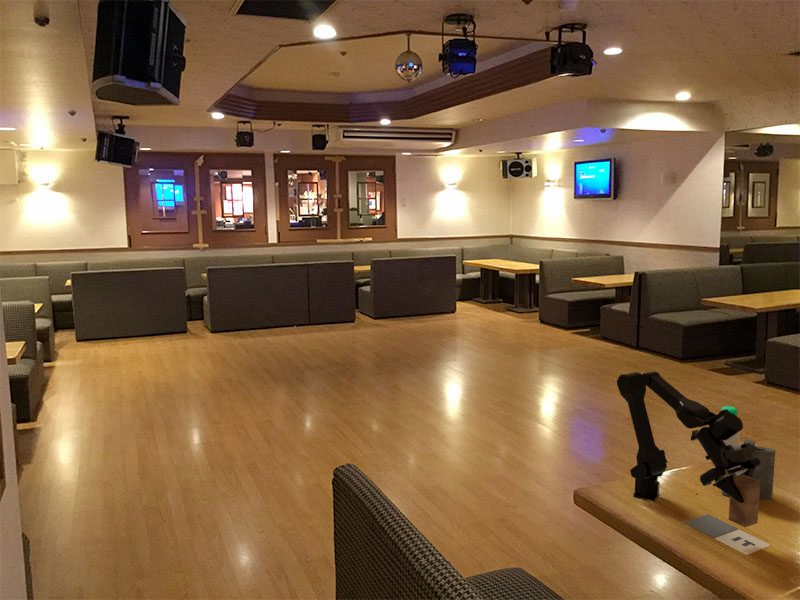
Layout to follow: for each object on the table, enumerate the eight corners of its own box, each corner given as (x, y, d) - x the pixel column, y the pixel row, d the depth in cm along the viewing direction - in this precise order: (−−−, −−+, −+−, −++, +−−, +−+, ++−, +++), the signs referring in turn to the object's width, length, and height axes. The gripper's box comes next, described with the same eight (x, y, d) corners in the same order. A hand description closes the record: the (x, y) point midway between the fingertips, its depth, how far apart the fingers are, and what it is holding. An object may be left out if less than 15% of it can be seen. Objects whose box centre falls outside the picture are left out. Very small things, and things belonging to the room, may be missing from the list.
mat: (683, 524, 192) (683, 522, 192) (707, 515, 196) (707, 513, 196) (714, 539, 183) (714, 537, 183) (738, 530, 187) (738, 528, 187)
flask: (720, 491, 212) (723, 437, 209) (769, 495, 208) (773, 440, 206) (722, 496, 209) (725, 441, 206) (773, 500, 205) (777, 444, 202)
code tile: (713, 539, 183) (713, 537, 183) (737, 530, 188) (737, 528, 187) (746, 556, 174) (746, 554, 174) (771, 546, 179) (771, 544, 179)
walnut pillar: (728, 519, 181) (731, 478, 179) (740, 515, 183) (743, 474, 181) (745, 527, 177) (748, 485, 175) (757, 522, 179) (760, 481, 177)
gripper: (711, 440, 175) (747, 496, 168) (757, 428, 184) (793, 480, 176) (685, 458, 184) (718, 512, 176) (730, 446, 192) (763, 496, 184)
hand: (749, 500), depth 178 cm, fingers closed on walnut pillar, 5 cm apart
